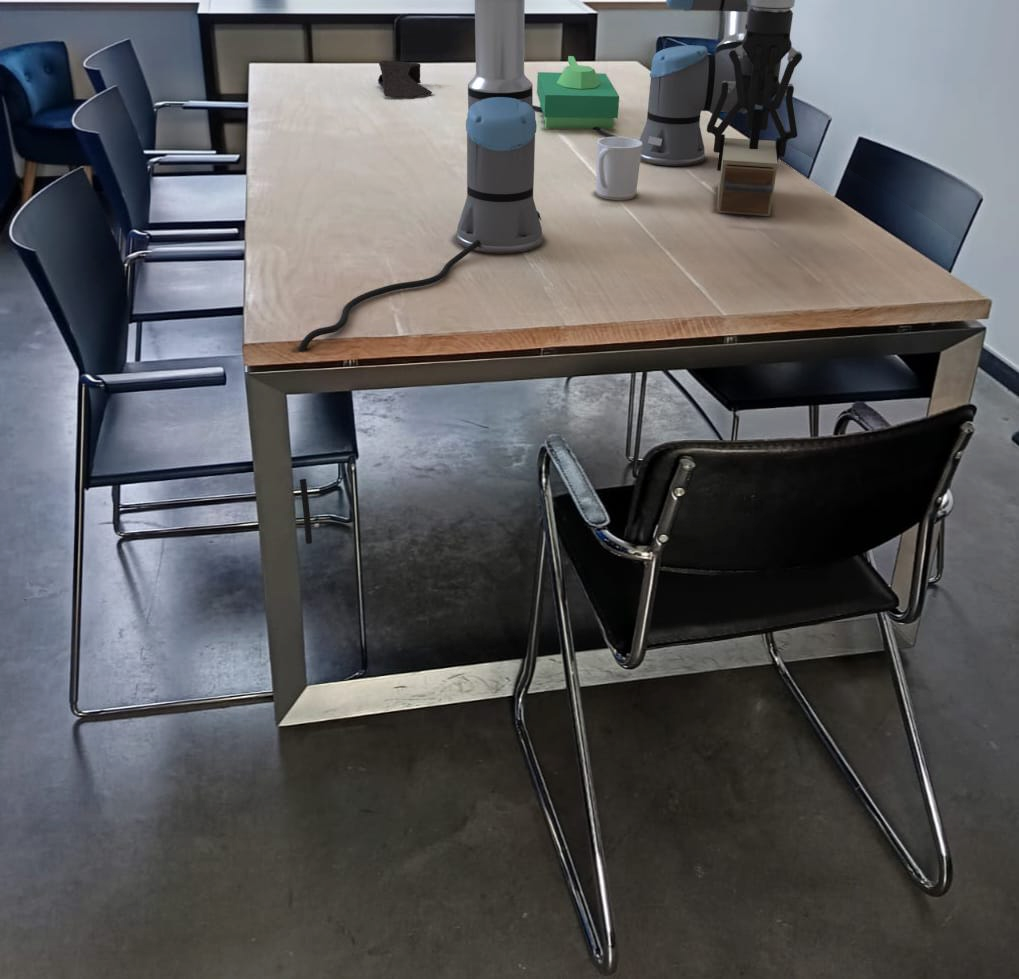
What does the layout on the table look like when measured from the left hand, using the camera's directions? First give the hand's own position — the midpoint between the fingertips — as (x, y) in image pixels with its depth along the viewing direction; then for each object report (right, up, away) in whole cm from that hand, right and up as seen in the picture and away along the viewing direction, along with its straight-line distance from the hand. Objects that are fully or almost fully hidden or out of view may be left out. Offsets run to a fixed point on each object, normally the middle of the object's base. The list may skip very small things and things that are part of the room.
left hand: (753, 147), depth 201 cm
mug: (-24, -4, +19) cm, 31 cm away
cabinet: (+2, -5, +18) cm, 19 cm away
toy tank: (-29, +32, +78) cm, 89 cm away
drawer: (+1, -7, +14) cm, 15 cm away
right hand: (+3, +1, +19) cm, 19 cm away
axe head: (-74, +46, +99) cm, 132 cm away
